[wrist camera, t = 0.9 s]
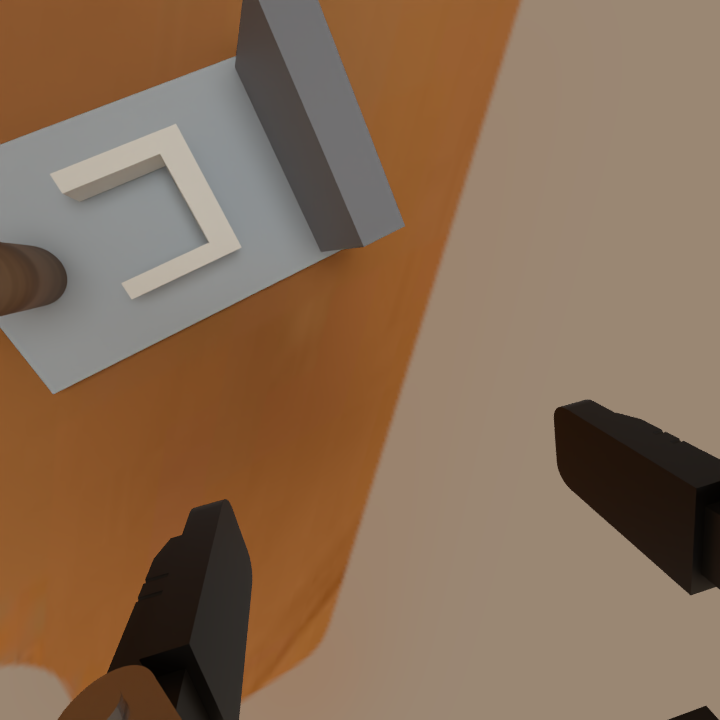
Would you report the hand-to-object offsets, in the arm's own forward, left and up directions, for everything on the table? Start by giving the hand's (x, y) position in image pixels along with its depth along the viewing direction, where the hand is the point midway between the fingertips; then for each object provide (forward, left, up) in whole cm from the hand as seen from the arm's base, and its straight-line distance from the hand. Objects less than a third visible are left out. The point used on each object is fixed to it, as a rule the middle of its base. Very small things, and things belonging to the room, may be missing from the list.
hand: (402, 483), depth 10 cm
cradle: (-7, +8, -21) cm, 23 cm away
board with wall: (-7, +8, -23) cm, 25 cm away
